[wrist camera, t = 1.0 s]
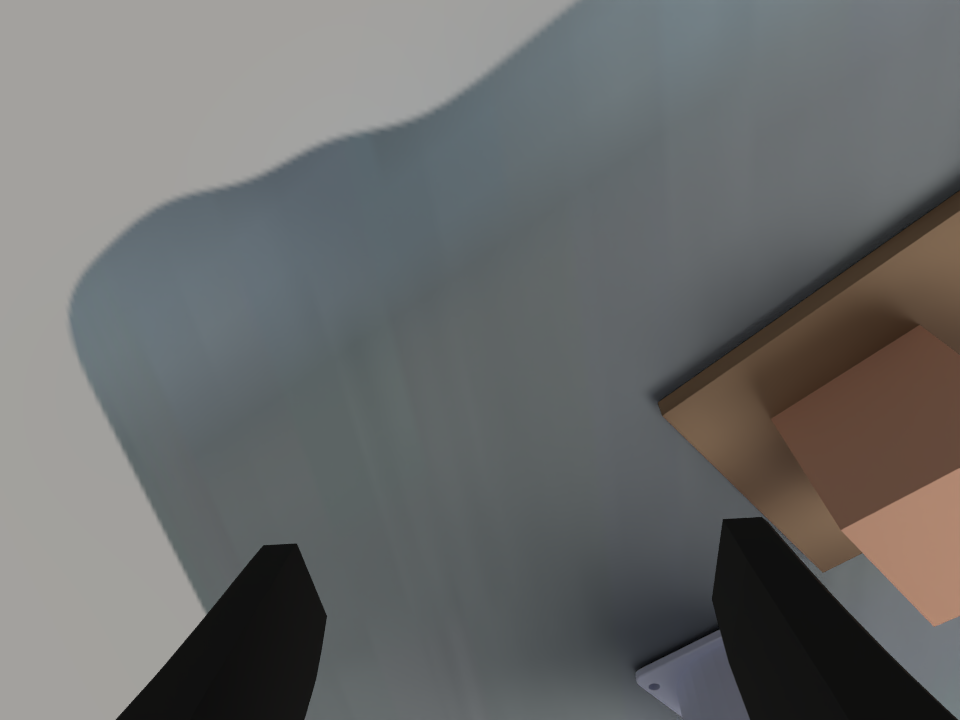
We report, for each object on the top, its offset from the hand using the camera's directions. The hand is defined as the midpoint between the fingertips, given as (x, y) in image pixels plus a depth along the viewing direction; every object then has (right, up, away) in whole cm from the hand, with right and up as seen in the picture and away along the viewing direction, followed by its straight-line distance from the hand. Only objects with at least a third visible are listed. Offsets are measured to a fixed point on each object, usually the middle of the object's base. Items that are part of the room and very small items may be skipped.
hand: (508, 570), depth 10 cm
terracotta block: (+13, +2, +9) cm, 16 cm away
